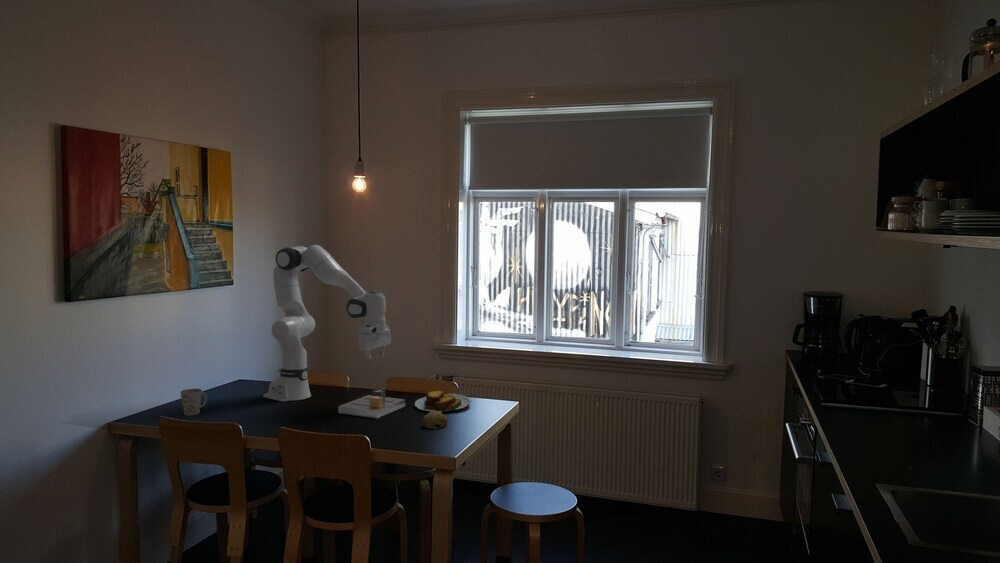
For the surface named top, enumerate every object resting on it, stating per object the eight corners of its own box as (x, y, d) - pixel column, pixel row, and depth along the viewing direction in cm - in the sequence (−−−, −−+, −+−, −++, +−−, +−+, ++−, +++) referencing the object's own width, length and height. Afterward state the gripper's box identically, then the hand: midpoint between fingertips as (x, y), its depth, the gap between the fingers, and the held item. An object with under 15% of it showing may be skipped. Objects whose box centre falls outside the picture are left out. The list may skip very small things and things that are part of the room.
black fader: (372, 400, 298) (372, 391, 297) (376, 398, 301) (375, 389, 300) (381, 401, 296) (381, 392, 295) (385, 399, 298) (385, 390, 298)
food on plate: (479, 410, 294) (480, 396, 293) (427, 417, 282) (427, 402, 282) (456, 397, 316) (456, 384, 316) (407, 403, 305) (406, 389, 304)
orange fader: (369, 406, 286) (369, 397, 286) (373, 405, 289) (373, 395, 289) (379, 408, 284) (379, 398, 284) (383, 406, 287) (383, 397, 287)
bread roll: (425, 438, 266) (427, 422, 262) (418, 421, 274) (420, 405, 270) (448, 435, 269) (451, 419, 266) (441, 418, 278) (443, 403, 274)
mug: (176, 415, 284) (175, 392, 283) (199, 407, 296) (198, 385, 295) (191, 417, 281) (191, 393, 280) (214, 409, 293) (213, 387, 292)
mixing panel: (338, 413, 288) (338, 406, 288) (368, 401, 308) (368, 394, 308) (376, 418, 280) (376, 411, 279) (405, 406, 300) (405, 399, 299)
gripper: (383, 323, 309) (382, 352, 310) (356, 329, 290) (355, 360, 292) (394, 324, 306) (394, 354, 307) (368, 330, 288) (367, 361, 289)
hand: (375, 357), depth 299 cm, fingers open, 8 cm apart
